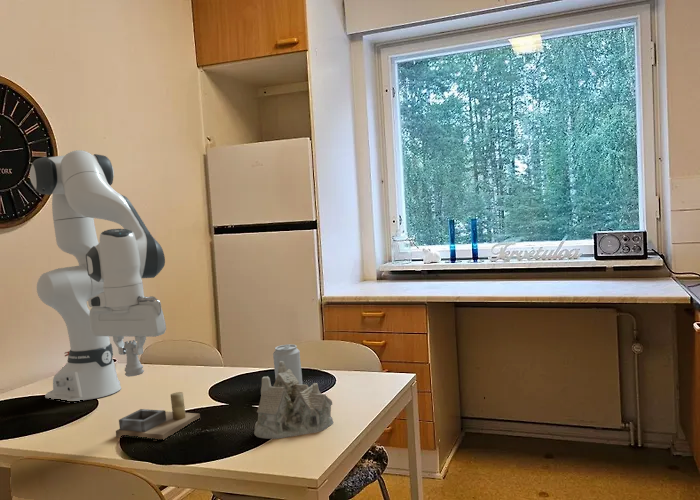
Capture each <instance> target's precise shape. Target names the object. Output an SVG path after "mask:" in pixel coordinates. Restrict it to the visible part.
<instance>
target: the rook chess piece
mask: <svg viewBox="0 0 700 500" xmlns="http://www.w3.org/2000/svg"><path fill="white" fill-rule="evenodd" d="M123 342H124V344H125V345H124V348H125V349H126V352H125V353H126V354H125V355H126V365H125V367H124V372H125V373H124V375H125V377H128V378H129V377H136V376H141V375H143V374H144V371H145V370H144V365H143V364H141V362H140V359H139V357H138V356H139V355H134V354H133V352H134V351H133V348H134V347H136V344H137V341H135V339H133V340H128V341H127V340H126V341H123Z"/></svg>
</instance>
